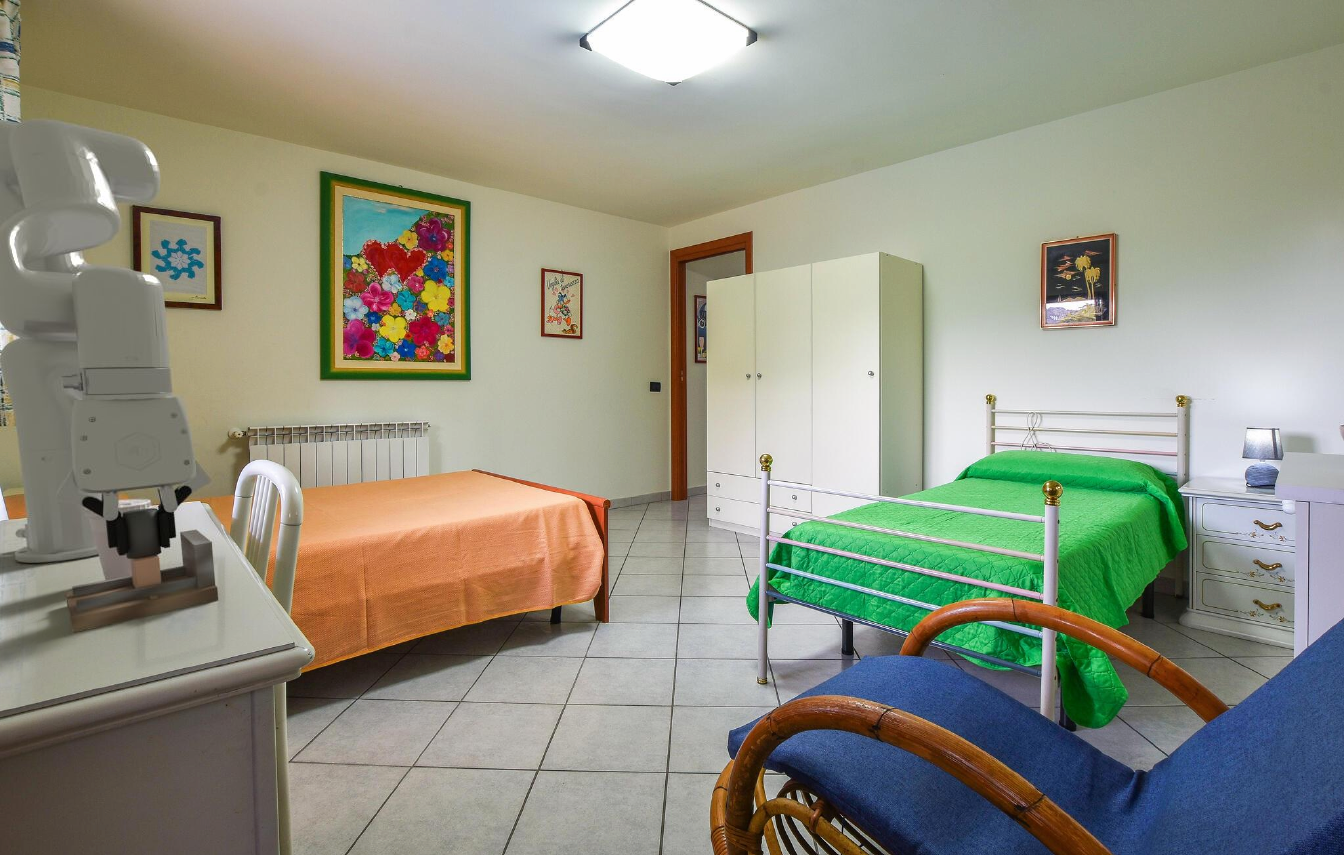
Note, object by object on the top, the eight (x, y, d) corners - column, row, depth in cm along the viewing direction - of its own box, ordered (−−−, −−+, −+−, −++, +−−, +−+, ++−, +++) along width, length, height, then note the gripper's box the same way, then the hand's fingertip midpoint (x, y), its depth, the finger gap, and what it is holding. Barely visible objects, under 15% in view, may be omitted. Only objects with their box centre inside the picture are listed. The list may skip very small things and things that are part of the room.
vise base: (73, 632, 63) (66, 568, 62) (67, 605, 71) (61, 548, 70) (218, 599, 72) (213, 543, 71) (199, 579, 79) (194, 528, 79)
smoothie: (123, 571, 83) (113, 465, 82) (171, 570, 83) (161, 465, 82) (76, 587, 77) (64, 473, 76) (127, 587, 77) (116, 473, 75)
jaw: (132, 594, 69) (125, 516, 68) (127, 584, 72) (119, 510, 71) (167, 587, 71) (160, 512, 70) (160, 578, 74) (153, 505, 73)
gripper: (21, 388, 61) (42, 574, 63) (225, 383, 73) (238, 540, 74) (21, 387, 66) (40, 559, 68) (211, 383, 78) (223, 530, 79)
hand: (143, 547), depth 71 cm, fingers closed on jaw, 3 cm apart
